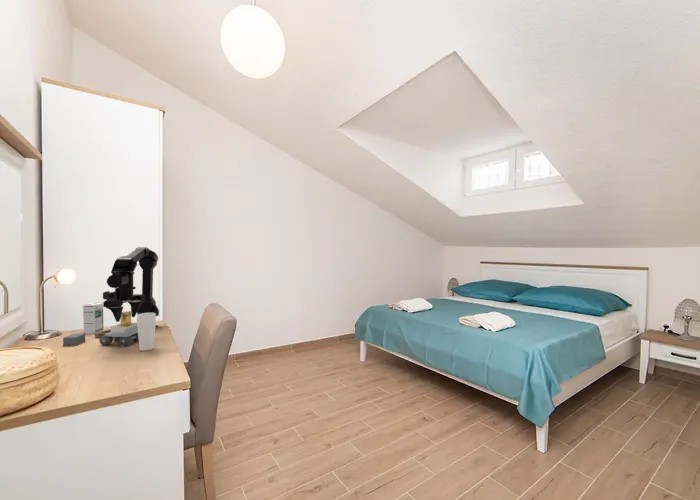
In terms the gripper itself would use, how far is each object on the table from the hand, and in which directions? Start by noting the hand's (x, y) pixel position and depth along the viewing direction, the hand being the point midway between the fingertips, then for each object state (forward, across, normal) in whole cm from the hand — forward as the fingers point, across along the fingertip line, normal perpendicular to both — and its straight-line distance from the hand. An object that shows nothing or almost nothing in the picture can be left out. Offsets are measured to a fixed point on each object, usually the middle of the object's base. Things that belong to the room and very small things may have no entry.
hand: (125, 319), depth 146 cm
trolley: (+10, +1, 0) cm, 10 cm away
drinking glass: (+11, +8, +16) cm, 21 cm away
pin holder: (+10, -9, -15) cm, 20 cm away
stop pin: (+5, 0, 0) cm, 5 cm away
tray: (+5, 0, 0) cm, 5 cm away
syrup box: (+11, -14, -28) cm, 33 cm away
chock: (+11, +4, -20) cm, 23 cm away
